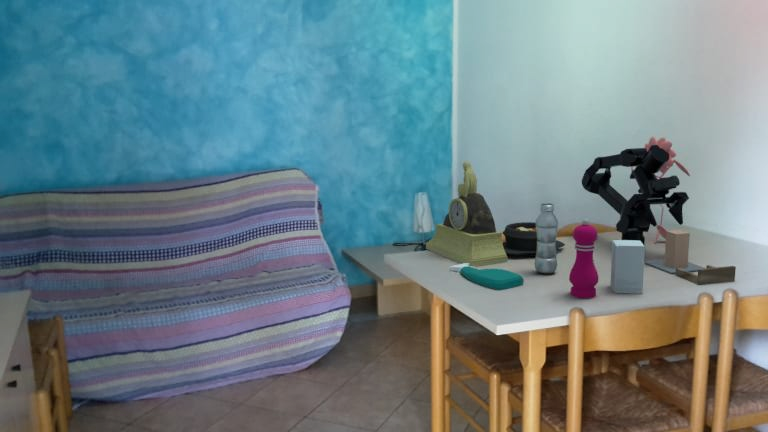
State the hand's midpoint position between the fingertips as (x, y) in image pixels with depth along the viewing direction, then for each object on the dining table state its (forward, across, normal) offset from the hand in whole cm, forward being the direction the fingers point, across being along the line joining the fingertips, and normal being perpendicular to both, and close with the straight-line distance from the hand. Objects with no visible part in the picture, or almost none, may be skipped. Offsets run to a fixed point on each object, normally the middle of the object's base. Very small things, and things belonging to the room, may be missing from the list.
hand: (668, 224), depth 208 cm
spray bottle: (+6, -57, +14) cm, 59 cm away
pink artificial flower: (-12, +19, +29) cm, 36 cm away
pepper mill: (+22, -40, -4) cm, 46 cm away
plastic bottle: (+7, -38, +12) cm, 40 cm away
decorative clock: (-12, -51, +32) cm, 62 cm away
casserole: (-10, -30, +29) cm, 43 cm away
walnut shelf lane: (+20, -1, -4) cm, 21 cm away
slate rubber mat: (+12, 0, +5) cm, 13 cm away
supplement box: (+22, -27, -4) cm, 35 cm away
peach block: (+11, 0, +4) cm, 12 cm away
